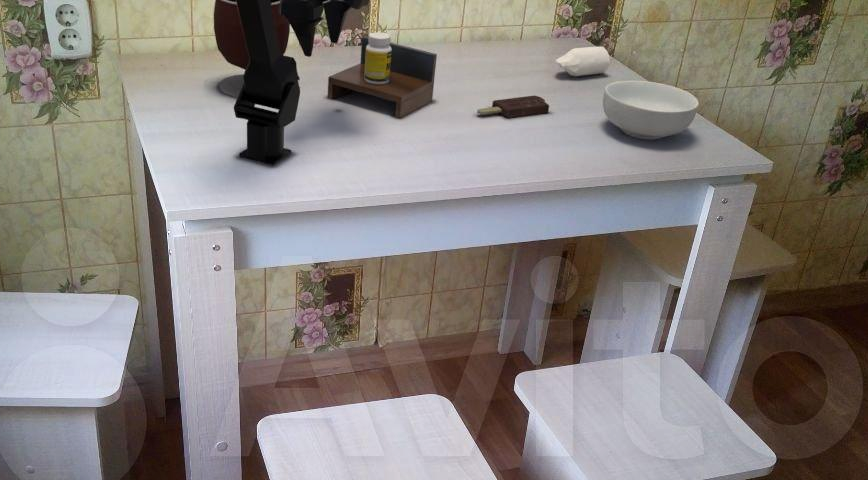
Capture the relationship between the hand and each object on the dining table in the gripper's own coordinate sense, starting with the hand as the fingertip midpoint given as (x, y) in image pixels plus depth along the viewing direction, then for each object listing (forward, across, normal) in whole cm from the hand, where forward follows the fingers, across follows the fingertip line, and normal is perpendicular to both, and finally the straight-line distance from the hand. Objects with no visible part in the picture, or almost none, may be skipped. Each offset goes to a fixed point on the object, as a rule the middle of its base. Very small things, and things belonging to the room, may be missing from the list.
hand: (321, 49), depth 167 cm
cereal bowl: (+13, +31, -51) cm, 61 cm away
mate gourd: (+13, +9, +19) cm, 25 cm away
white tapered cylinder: (+13, +55, -31) cm, 64 cm away
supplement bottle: (+9, +16, -4) cm, 18 cm away
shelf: (+13, +17, -4) cm, 22 cm away
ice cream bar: (+13, +26, -27) cm, 40 cm away
